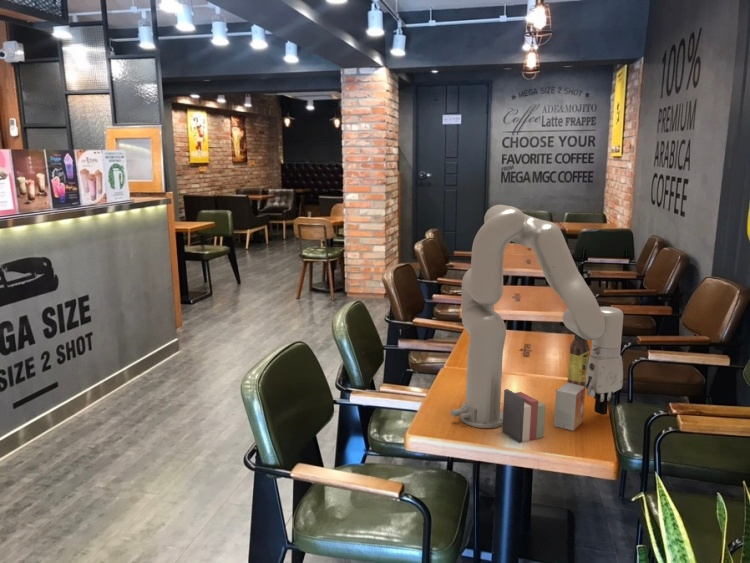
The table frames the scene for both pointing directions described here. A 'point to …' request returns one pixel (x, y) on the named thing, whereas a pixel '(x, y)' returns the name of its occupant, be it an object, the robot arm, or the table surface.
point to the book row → (522, 417)
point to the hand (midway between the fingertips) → (600, 412)
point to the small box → (569, 406)
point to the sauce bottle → (578, 361)
